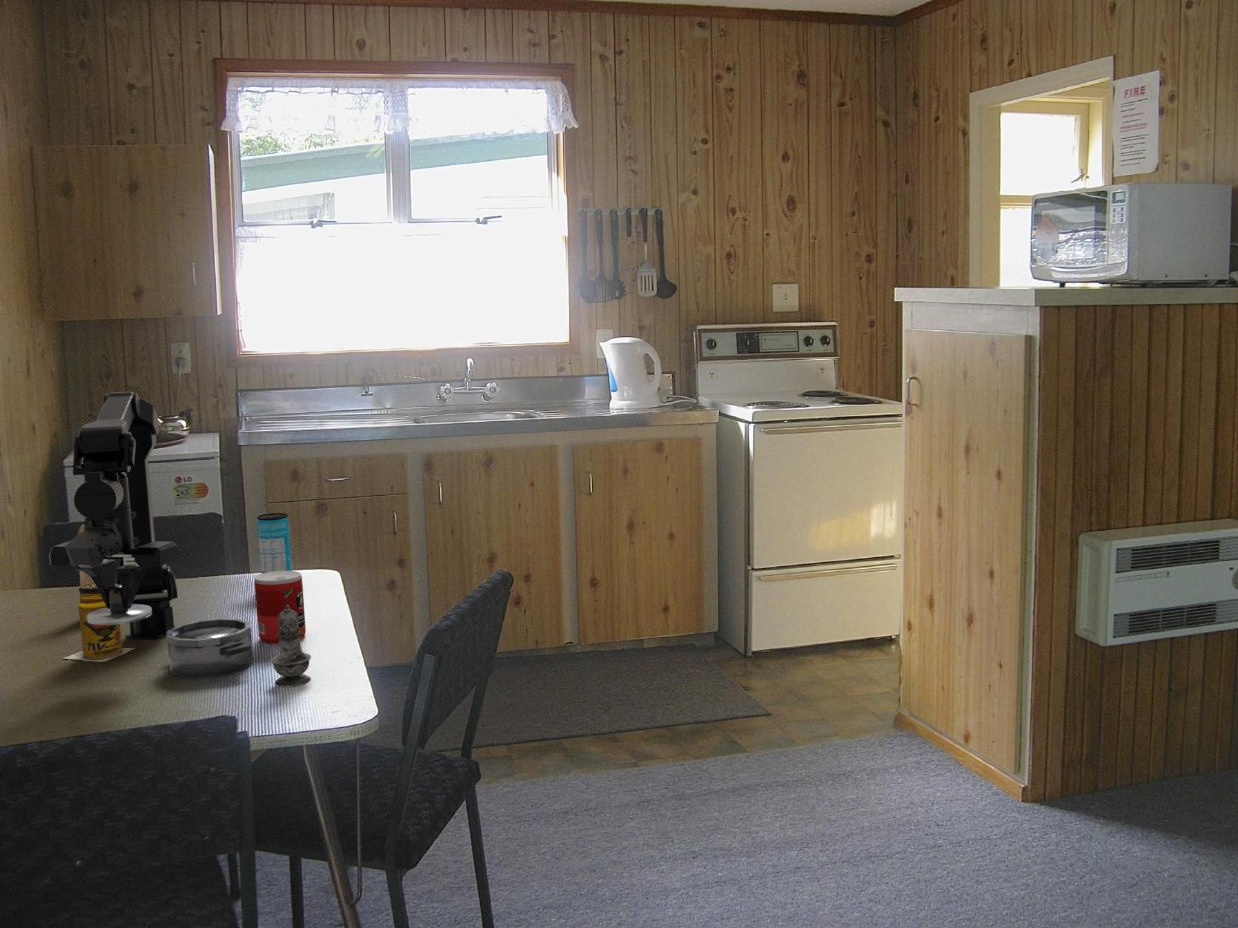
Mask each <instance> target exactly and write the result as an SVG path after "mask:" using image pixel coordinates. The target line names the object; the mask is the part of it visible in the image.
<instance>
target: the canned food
mask: <svg viewBox="0 0 1238 928" xmlns="http://www.w3.org/2000/svg"><path fill="white" fill-rule="evenodd" d="M254 595H255V608H256V620H257V631H258V638H259V640H260V642H262V643H264V644H268V645H280V642H279V637H277V634H279V621H278V616H279V614H280V613H281V612H282V611H284V610H285V609H286V608H285V607H286V605H287V604H288V605H289V606H290V607H289V609H291V610H293V611H295V612H296V613H297V614H298V625H299V631H300V632H302V634H301V635H300V641H301V640H303V639H304V637H305V636H306V632H307V631H306V617H305V602H304V600H305V599H304V585H303V576H302V572H299V571H295V570H292V571H273V572H267V573H263V574H261V573H260V574H257V575H255V576H254Z"/></svg>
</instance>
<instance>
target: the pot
mask: <svg viewBox="0 0 1238 928" xmlns="http://www.w3.org/2000/svg"><path fill="white" fill-rule="evenodd" d="M251 629H252V628H251V622H250V621H248V620H244V619H240V618H222V617H220V618H211V619H209V618H208V619H202V620H196V621H192V622H187V623H184V624H178V625H177V627H174V628H172V629H170V630H168V631H167V635H165V637H166V643H167V651H168V653H167V654H168V662H169V663H168V665H169V671H170V672H169V673H170V674H171V675H173V676H174V677H179V678H184V679H185V678H186V679H204V678H214V677H215V678H216V677H220V676H225V675H226V674H227V675H230V674H233V673H237V672H240V671H243V670H245V669H247V668H249V667H251V665H252V664H254V655H253V643H252V640H253V639H252V630H251Z"/></svg>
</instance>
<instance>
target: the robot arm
mask: <svg viewBox="0 0 1238 928" xmlns="http://www.w3.org/2000/svg"><path fill="white" fill-rule="evenodd" d="M98 414H99V415H98V416H97V418H96V420H95V421H92V422H88V423H85V424H84V425H82V426H81V427H80V429H79V432H78V434H75V437H74V445H73V447H74V448H73V464H72V466H73V467H72V474H73V476H84V482H83V483H82V484H80V486H78V487H77V490H75V493H74V496H73V502H74V506H75V509H76V511H77V512H78V513H79V514H80V515H81V516H83V517H84V521H83V525H84V531H83V532H82V533H80V534H78V533H77V535H75V537H73V538H72V539H71V540H69V541H66V542H63V543H61V544H57V545H54V546H52V548H51V549H50V552H49V554H48V557H49V565H50V566H69V565H70V564H71V566H72V567H75V568H76V570H77V571H78V572H79V571H83V572H84V573H86V574H87V575H89V576H90V577H91V578H92V580H93V582H94V583H95V585H96V587H97V589H98V591H99V592H100V594H101V596H102V598H103V600H104V602H105V604H106V606H107V608H108V609H110V604H109V593H108V587H109V586H113V585H122V594H123V603H124V607H125V609H129V608H131V606H132V604H140V605H147V606H150V607H151V608H152V615H151V616H149V617H147V618H145V619H142V620H139V621H135V622H130V623H129V631H130V632H129V633H127V634H125V635H124V638H125V639H142V640H143V639H144V640H147V639H148V640H149V639H150V640H156V639H157V640H158V639H161V638H162V637H164V636H165V637H166V636H167V631H168V630H170V629H172V628H174V627H177V626H178V625H177V626H175V622H174V621H175V620H174V611H173V607H172V606H171V601H173V600H174V599H178V597H179V596H178V595H179V594H178V586H177V581H176V578H175V577H176V576H175V574H174V573H173V572H172V570H171V567H170V565H167V564H169V563H172V562H175V561H178V560H179V559H180V549H179V547H178V545H176V543H175V542H174V541H158V540H157V541H156V540H155V539H156V537H155V530H154V529H155V527H154V515H153V505H152V504H153V503H152V490H151V480H150V479H151V478H150V469H149V468H150V467H149V458H150V455H151V453H152V452H153V450H154V448H155V446H156V444H157V435H159V433H160V425H159V423H160V422H159V417H158V414H157V412H156V409H155V406H154V405H153V404H151V403H149V402H147V401H145V400H143V399H141V398H140V396H139V394H138V392H134V391H117V392H116V391H113V392H109V393H107V394H104V397H103V405H102V407H101V410H100V412H99V413H98ZM116 560H120V562H119V567H116ZM116 573H117V574H116ZM116 575H117V576H116ZM116 583H117V584H116Z"/></svg>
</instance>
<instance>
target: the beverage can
mask: <svg viewBox="0 0 1238 928" xmlns="http://www.w3.org/2000/svg"><path fill="white" fill-rule="evenodd" d="M256 519H257V535H258V549H259V560H260V561H259V562H260V572H261V573H260V574H263V573H267V572H273V571H293V568H292V567H293V566H292V565H293V564H292V553H291V551H292V550H291V539H290V538H291V537H290V525H289V515H288V513H285V512H283V513H282V512H273V513H265V514H260V515H258V516H256Z"/></svg>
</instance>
